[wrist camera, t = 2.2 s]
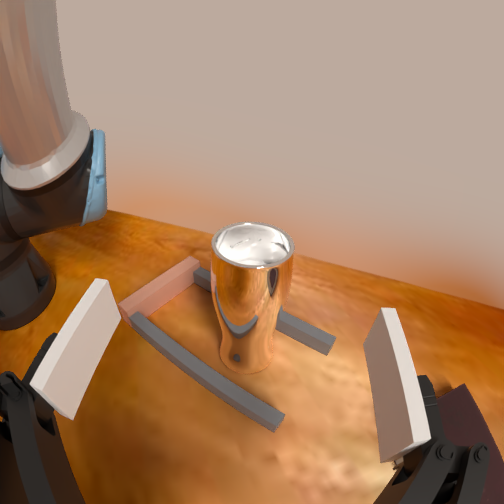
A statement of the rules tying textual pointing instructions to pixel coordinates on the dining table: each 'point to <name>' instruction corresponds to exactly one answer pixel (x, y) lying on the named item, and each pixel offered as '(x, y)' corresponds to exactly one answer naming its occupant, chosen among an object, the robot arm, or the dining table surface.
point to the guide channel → (154, 298)
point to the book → (471, 437)
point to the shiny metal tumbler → (250, 290)
